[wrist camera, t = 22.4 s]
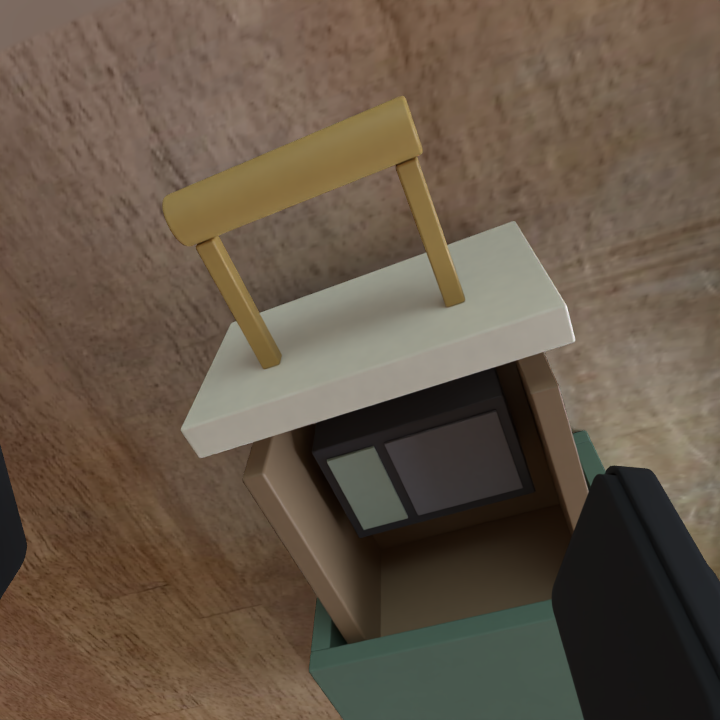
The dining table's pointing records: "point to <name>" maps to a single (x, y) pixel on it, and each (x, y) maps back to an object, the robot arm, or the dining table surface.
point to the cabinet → (455, 662)
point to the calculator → (424, 454)
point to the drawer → (385, 385)
